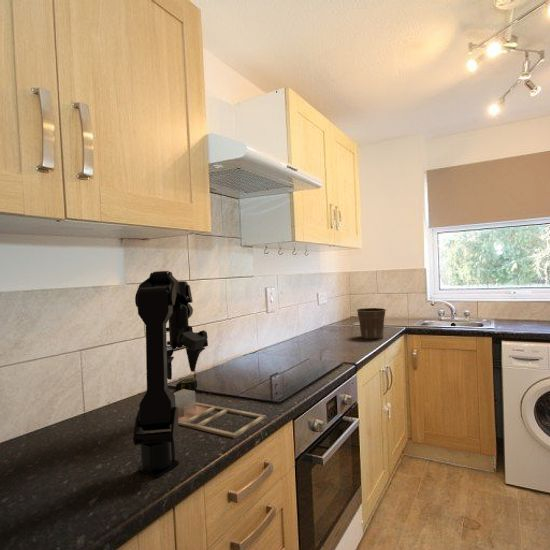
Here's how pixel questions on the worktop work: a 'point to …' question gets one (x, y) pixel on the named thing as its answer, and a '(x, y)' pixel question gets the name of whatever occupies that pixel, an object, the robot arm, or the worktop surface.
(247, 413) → the rectangular frame with crossbars
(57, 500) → the worktop surface
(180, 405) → the metal block
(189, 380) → the tape measure
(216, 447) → the worktop surface
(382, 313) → the plant pot
